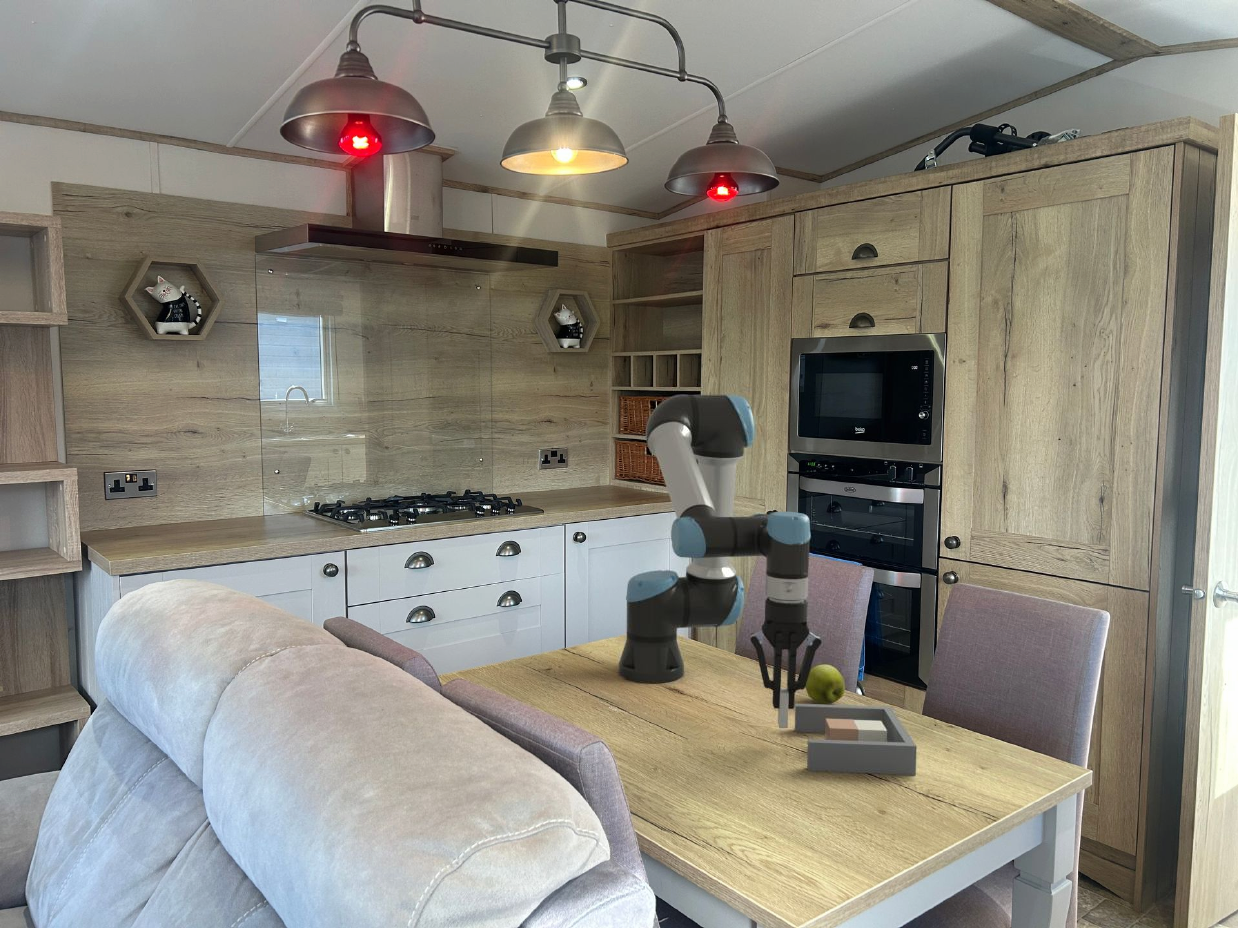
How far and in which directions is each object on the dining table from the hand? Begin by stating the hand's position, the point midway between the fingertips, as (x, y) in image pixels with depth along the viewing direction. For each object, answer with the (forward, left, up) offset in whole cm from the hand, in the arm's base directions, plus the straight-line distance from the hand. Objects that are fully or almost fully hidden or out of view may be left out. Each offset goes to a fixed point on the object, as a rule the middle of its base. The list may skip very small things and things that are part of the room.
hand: (782, 725), depth 166 cm
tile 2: (+1, +16, -4) cm, 16 cm away
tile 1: (+1, +11, -4) cm, 11 cm away
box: (+1, +12, -4) cm, 13 cm away
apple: (-25, +11, -4) cm, 28 cm away
